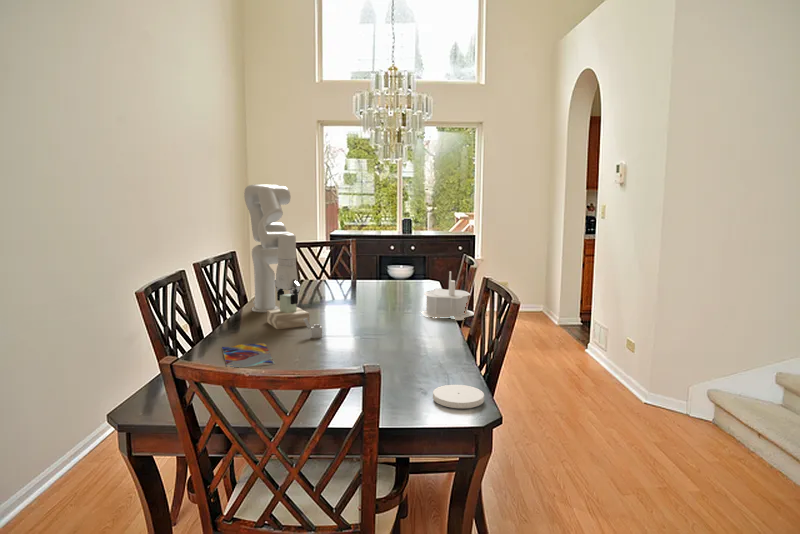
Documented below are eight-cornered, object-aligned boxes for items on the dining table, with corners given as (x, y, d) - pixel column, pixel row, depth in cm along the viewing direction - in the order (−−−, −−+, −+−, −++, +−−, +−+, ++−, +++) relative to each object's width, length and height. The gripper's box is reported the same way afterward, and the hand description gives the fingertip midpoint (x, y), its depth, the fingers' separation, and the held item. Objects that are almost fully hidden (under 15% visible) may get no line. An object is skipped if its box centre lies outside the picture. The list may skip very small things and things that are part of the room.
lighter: (321, 336, 219) (321, 317, 218) (322, 337, 217) (322, 318, 216) (303, 337, 217) (303, 317, 216) (303, 338, 216) (303, 318, 215)
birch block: (267, 323, 241) (266, 310, 241) (297, 320, 248) (297, 307, 248) (277, 330, 229) (277, 316, 229) (309, 326, 237) (309, 313, 236)
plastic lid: (439, 390, 162) (439, 382, 162) (487, 396, 158) (487, 387, 158) (427, 408, 149) (427, 399, 148) (479, 414, 145) (480, 405, 144)
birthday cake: (406, 310, 271) (407, 266, 268) (459, 306, 281) (460, 264, 278) (432, 324, 243) (433, 275, 240) (489, 319, 254) (490, 273, 251)
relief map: (275, 366, 184) (275, 360, 183) (227, 371, 178) (227, 365, 178) (264, 346, 207) (264, 341, 207) (222, 350, 202) (221, 344, 201)
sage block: (280, 311, 239) (279, 295, 238) (289, 309, 242) (289, 293, 241) (286, 313, 235) (286, 296, 234) (296, 311, 239) (296, 295, 238)
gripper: (267, 261, 239) (268, 300, 241) (291, 265, 227) (292, 306, 229) (282, 259, 244) (282, 297, 247) (306, 264, 232) (306, 304, 235)
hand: (287, 302), depth 238 cm, fingers open, 9 cm apart
